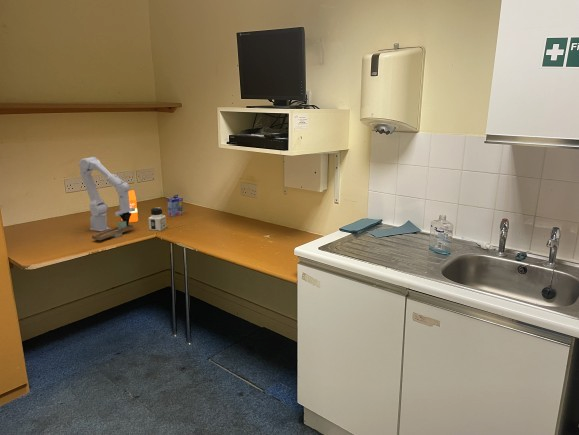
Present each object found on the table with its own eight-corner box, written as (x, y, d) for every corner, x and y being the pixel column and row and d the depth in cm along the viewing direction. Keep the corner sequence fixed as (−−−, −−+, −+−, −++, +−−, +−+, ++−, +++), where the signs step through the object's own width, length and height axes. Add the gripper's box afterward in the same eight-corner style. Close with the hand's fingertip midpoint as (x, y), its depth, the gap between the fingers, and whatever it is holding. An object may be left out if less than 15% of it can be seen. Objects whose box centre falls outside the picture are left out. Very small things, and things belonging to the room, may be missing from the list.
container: (160, 230, 272) (159, 210, 269) (149, 229, 274) (147, 209, 270) (166, 227, 280) (165, 207, 276) (155, 226, 281) (153, 206, 278)
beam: (91, 241, 251) (90, 235, 250) (124, 229, 274) (124, 223, 273) (101, 243, 248) (101, 236, 247) (135, 231, 271) (134, 225, 270)
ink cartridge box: (173, 217, 304) (171, 196, 300) (167, 215, 307) (166, 195, 303) (184, 214, 312) (182, 193, 308) (178, 213, 315) (177, 192, 311)
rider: (117, 228, 266) (117, 222, 265) (122, 227, 269) (122, 220, 268) (121, 229, 264) (121, 222, 263) (126, 227, 268) (126, 221, 267)
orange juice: (138, 221, 293) (135, 191, 288) (124, 223, 289) (121, 192, 283) (134, 218, 300) (132, 189, 295) (121, 220, 295) (118, 190, 290)
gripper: (120, 206, 258) (122, 228, 262) (138, 201, 271) (139, 222, 274) (111, 205, 261) (113, 227, 264) (129, 200, 274) (131, 221, 277)
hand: (126, 224), depth 270 cm, fingers closed
